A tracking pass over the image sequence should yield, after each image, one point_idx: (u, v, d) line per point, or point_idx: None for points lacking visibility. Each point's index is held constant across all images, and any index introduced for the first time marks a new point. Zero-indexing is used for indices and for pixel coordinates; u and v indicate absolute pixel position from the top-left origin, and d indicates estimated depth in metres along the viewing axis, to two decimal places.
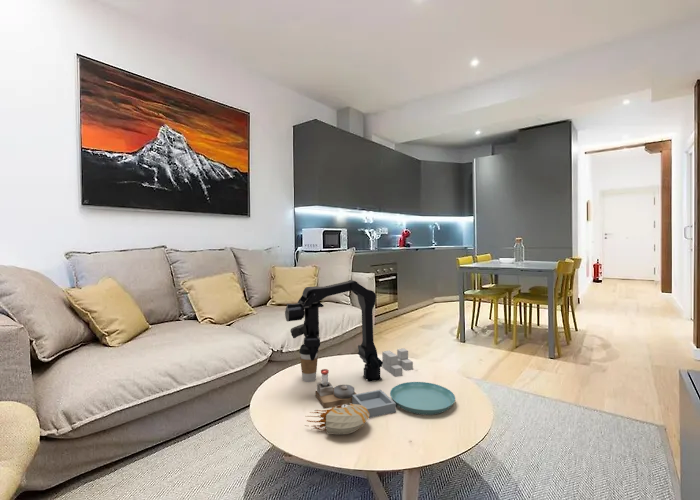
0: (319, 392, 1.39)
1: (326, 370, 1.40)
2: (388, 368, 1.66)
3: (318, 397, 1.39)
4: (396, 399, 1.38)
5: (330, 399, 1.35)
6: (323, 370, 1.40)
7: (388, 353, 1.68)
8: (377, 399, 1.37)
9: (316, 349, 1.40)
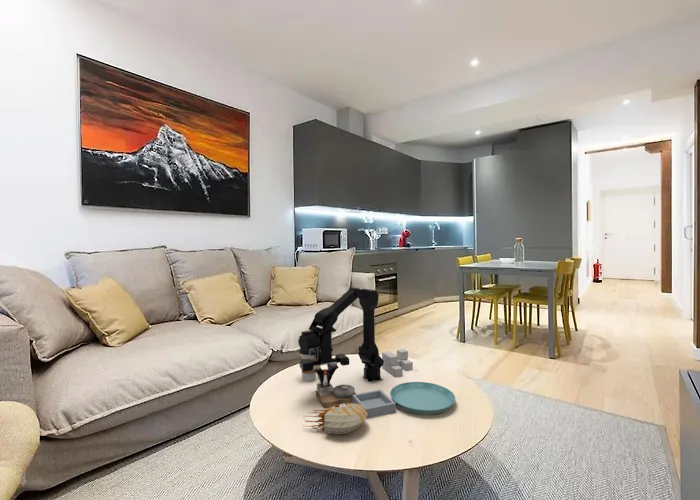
0: (319, 392, 1.39)
1: (326, 370, 1.40)
2: (388, 369, 1.65)
3: (318, 397, 1.39)
4: (396, 399, 1.38)
5: (330, 399, 1.35)
6: (323, 370, 1.40)
7: (388, 354, 1.67)
8: (377, 399, 1.37)
9: None
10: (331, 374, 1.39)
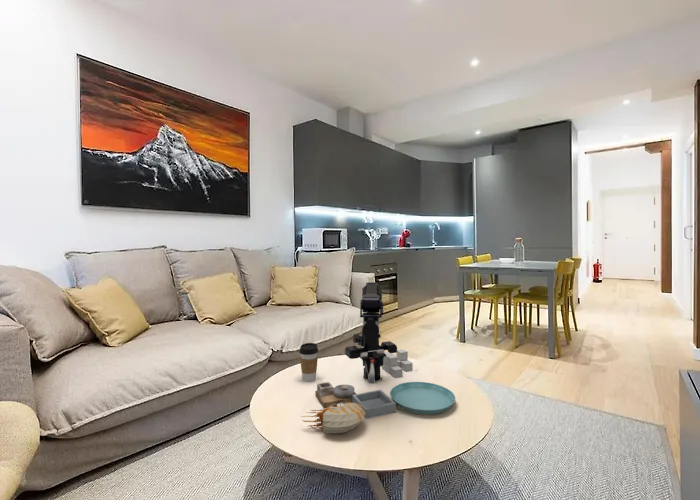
0: (319, 392, 1.39)
1: (373, 358, 1.32)
2: (388, 369, 1.64)
3: (318, 397, 1.39)
4: (396, 399, 1.38)
5: (330, 399, 1.35)
6: (370, 358, 1.32)
7: (388, 354, 1.67)
8: (377, 399, 1.37)
9: (365, 362, 1.29)
10: (378, 362, 1.31)
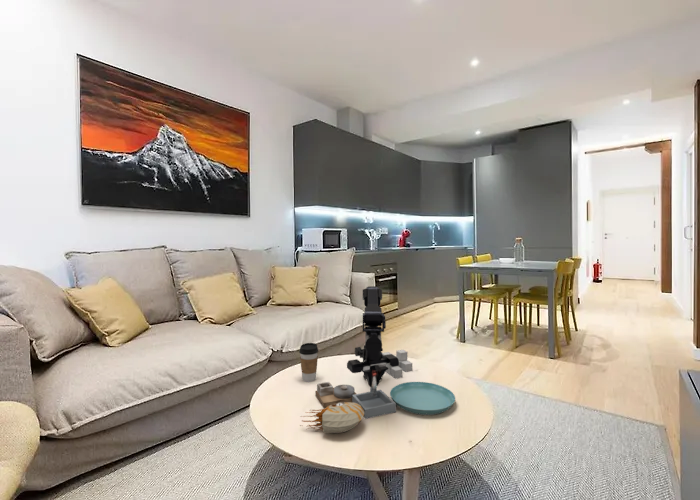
0: (319, 392, 1.39)
1: (375, 371, 1.32)
2: (388, 370, 1.64)
3: (318, 397, 1.39)
4: (396, 399, 1.38)
5: (330, 399, 1.35)
6: (372, 372, 1.32)
7: None
8: (377, 399, 1.37)
9: (367, 376, 1.29)
10: (380, 376, 1.31)
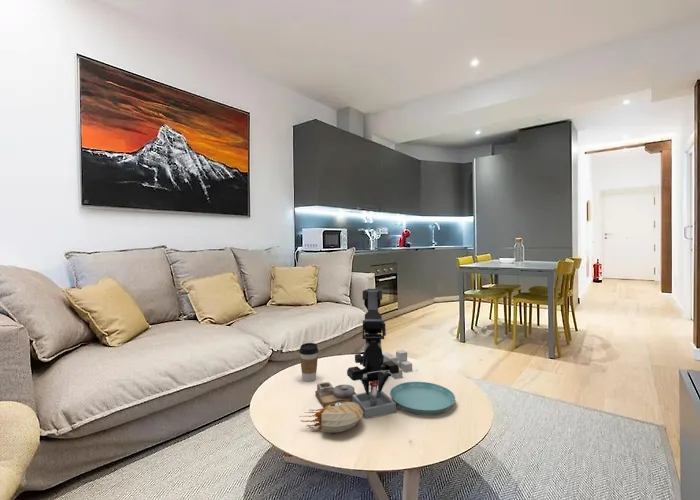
0: (319, 392, 1.39)
1: (375, 382, 1.32)
2: None
3: (318, 397, 1.39)
4: (396, 399, 1.38)
5: (330, 399, 1.35)
6: (372, 382, 1.32)
7: (387, 355, 1.66)
8: (377, 399, 1.37)
9: (364, 383, 1.29)
10: (383, 382, 1.31)
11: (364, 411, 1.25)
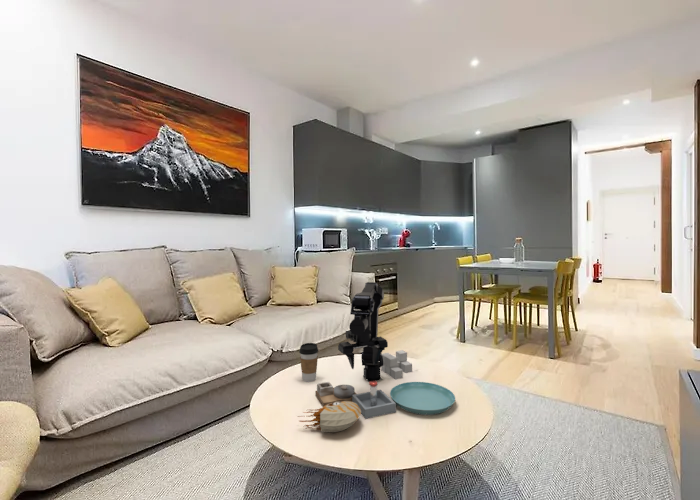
0: (319, 392, 1.39)
1: (375, 382, 1.32)
2: (387, 371, 1.63)
3: (318, 397, 1.39)
4: (396, 399, 1.38)
5: (330, 399, 1.35)
6: (372, 382, 1.32)
7: (387, 355, 1.65)
8: (377, 399, 1.37)
9: (350, 358, 1.35)
10: (377, 355, 1.39)
11: (364, 411, 1.25)
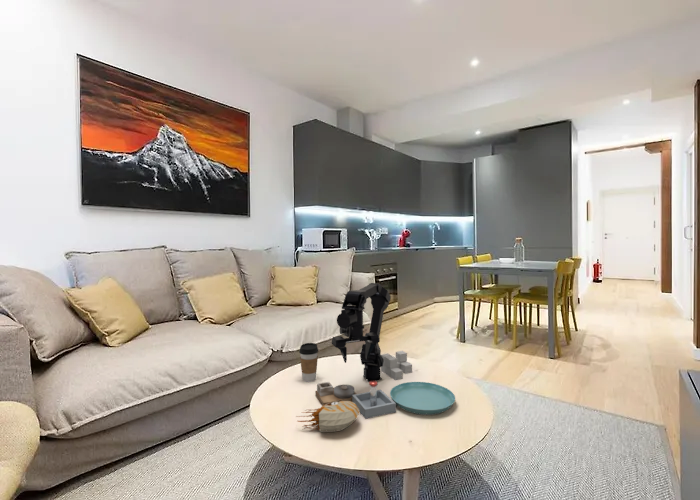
0: (319, 392, 1.39)
1: (375, 382, 1.32)
2: (387, 371, 1.62)
3: (318, 397, 1.39)
4: (396, 399, 1.38)
5: (330, 399, 1.35)
6: (372, 382, 1.32)
7: (387, 356, 1.64)
8: (377, 399, 1.37)
9: (342, 352, 1.40)
10: (370, 350, 1.44)
11: (364, 411, 1.25)
